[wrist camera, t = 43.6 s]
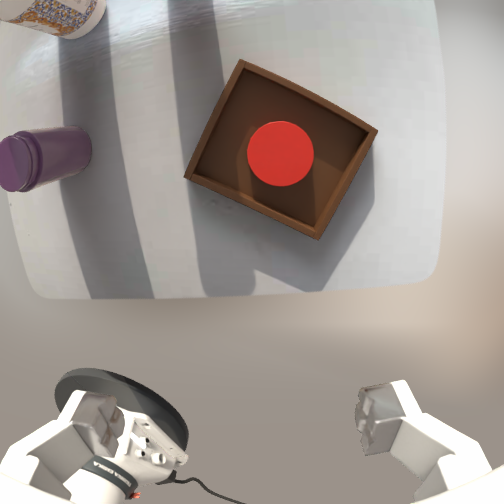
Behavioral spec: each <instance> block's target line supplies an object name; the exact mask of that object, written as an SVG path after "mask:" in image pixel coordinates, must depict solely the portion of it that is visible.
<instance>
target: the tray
mask: <svg viewBox="0 0 504 504" xmlns="http://www.w3.org/2000/svg"><path fill="white" fill-rule="evenodd" d="M278 121H284V122H289V123H292V124H294V125H297V126H298V127H300V128H301V129H302V130H303V131H304V132H305V133H307V135H308V137H309V138H310V140H311V142H312V145H313V150H314V158H313V163H312V166H311V168H310V170H309V172H308V173H307V174H306V176H305V177H304V178H303V179H301V180H300V181H298V182H297V183H294V184H292V185H289V186H273V185H270V184H267V183H265V182H263V181H262V180H260V179H259V178H258V177H257V176H256V175H255V174H254V173H253V171H252V170H251V167H250V165H249V164H248V157H247V149H248V145H249V142H250V140H251V139H250V138H252V136H253V135H254V133H255V132H256V131H257V130H258V128H261V127H262V126H264V125H266V124H268V123H269V122H271V123H272V122H278ZM377 133H378V130H377V129H375V128H374V127H372V126H370V125H369V124H367V123H366V122H364V121H362V120H361V119H359V118H357V117H356V116H354V115H352V114H351V113H349V112H347V111H346V110H344V109H342V108H340V107H339V106H337V105H335V104H333V103H331V102H330V101H328V100H326V99H324V98H322V97H320V96H319V95H317V94H315V93H313V92H311V91H309V90H307V89H305V88H303V87H301V86H299V85H297V84H295V83H293V82H291V81H289V80H287V79H285V78H283V77H281V76H279V75H276V74H274V73H272V72H270V71H268V70H265V69H263V68H261V67H259V66H256V65H254V64H252V63H249V62H247V61H244V60H242V59H239V61H238V63H237V65H236V67H235V69H234V71H233V73H232V75H231V76H230V78H229V80H228V82H227V84H226V86H225V88H224V90H223V92H222V94H221V96H220V98H219V100H218V102H217V104H216V106H215V108H214V110H213V113H212V115H211V117H210V119H209V121H208V123H207V125H206V127H205V129H204V132H203V134H202V136H201V138H200V140H199V142H198V145H197V147H196V149H195V151H194V154H193V156H192V158H191V160H190V163H189V165H188V167H187V170H186V172H185V174H184V178H186V179H188V180H191V181H193V182H195V183H197V184H200V185H202V186H204V187H206V188H208V189H211V190H213V191H215V192H217V193H219V194H222V195H224V196H226V197H228V198H230V199H232V200H235V201H237V202H239V203H241V204H243V205H245V206H247V207H250V208H252V209H254V210H256V211H258V212H260V213H262V214H264V215H266V216H269V217H271V218H273V219H275V220H277V221H279V222H281V223H283V224H285V225H287V226H289V227H291V228H293V229H296V230H298V231H300V232H302V233H304V234H306V235H308V236H310V237H313V238H314V239H316V240H319V239H320V237H321V235H322V234H323V232H324V230H325V228H326V227H327V225H328V223H329V221H330V220H331V218H332V216H333V214H334V213H335V211H336V209H337V207H338V205H339V204H340V202H341V200H342V198H343V196H344V195H345V193H346V191H347V189H348V187H349V185H350V184H351V182H352V180H353V178H354V176H355V174H356V173H357V171H358V169H359V167H360V165H361V163H362V161H363V159H364V158H365V156H366V154H367V152H368V150H369V148H370V146H371V144H372V142H373V140H374V138H375V136H376V135H377Z"/></svg>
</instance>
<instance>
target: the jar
mask: <svg viewBox="0 0 504 504" xmlns="http://www.w3.org/2000/svg"><path fill="white" fill-rule="evenodd" d="M91 152H92V147H91V141H90V138H89V136H88V134H87V133H86V132H85V131H84V130H83V129H82V128H80V127H77V126H64V127H52V128H42V129H33V130H24V131H19V132H17V133H15V134H14V135H12V136H8V137H6V138H4V139H3V140H2V142H0V185H1V187H2V188H3V189H5V190H6V191H9V192H15V191H18V192H28V191H30V190H33V189H36V188H38V187H41V186H44V185H46V184H49V183H52V182H55V181H57V180H60V179H63V178H66V177H69V176H72V175H75V174H78V173H80V172H81V171H83V170H84V169H85V167H86V166H87V164H88V163H89V160H90V158H91Z"/></svg>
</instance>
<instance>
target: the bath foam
mask: <svg viewBox="0 0 504 504" xmlns="http://www.w3.org/2000/svg"><path fill="white" fill-rule="evenodd" d="M105 8H106V0H0V20H2V21H6V22H10V23H13V24H17V25H21V26H25V27H28V28H32V29H35V30H39V31H42V32H45V33H48V34H52V35H55V36H58V37H61V38H64V39H76V38H79V37H82V36H84V35H85V34H87V33H88V32H90V31H91V30H92V29H93V28H94V27H95V26H96V25H97V24H98V22H99V21H100V19H101V18H102V16H103V14H104V12H105Z"/></svg>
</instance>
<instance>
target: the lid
mask: <svg viewBox="0 0 504 504" xmlns="http://www.w3.org/2000/svg"><path fill="white" fill-rule="evenodd" d="M250 139H251V140H250V142H249V145H248V149H247V157H248V164H249V165H250V167H251V170H252V171H253V173H254V174H255V175H256V176H257V177H258V178H259V179H260V180H262V181H263V182H265V183H267V184H270V185H273V186H289V185H292V184H294V183H297V182H298V181H300V180H301V179H303V178H304V177H305V176H306V174H307V173H308V172H309V170H310V168H311V166H312V163H313V158H314V150H313V145H312V142H311V140H310V138H309V137H308V135H307V133H305V132H304V131H303V130H302V129H301V128H300V127H298V126H297V125H294V124H292V123H289V122H284V121H278V122H272V123H271V122H269V123H268V124H266V125H264V126H262V127H261V128H258V130H257V131H256V132H255V133H254V135H253V136H252V138H250Z"/></svg>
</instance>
